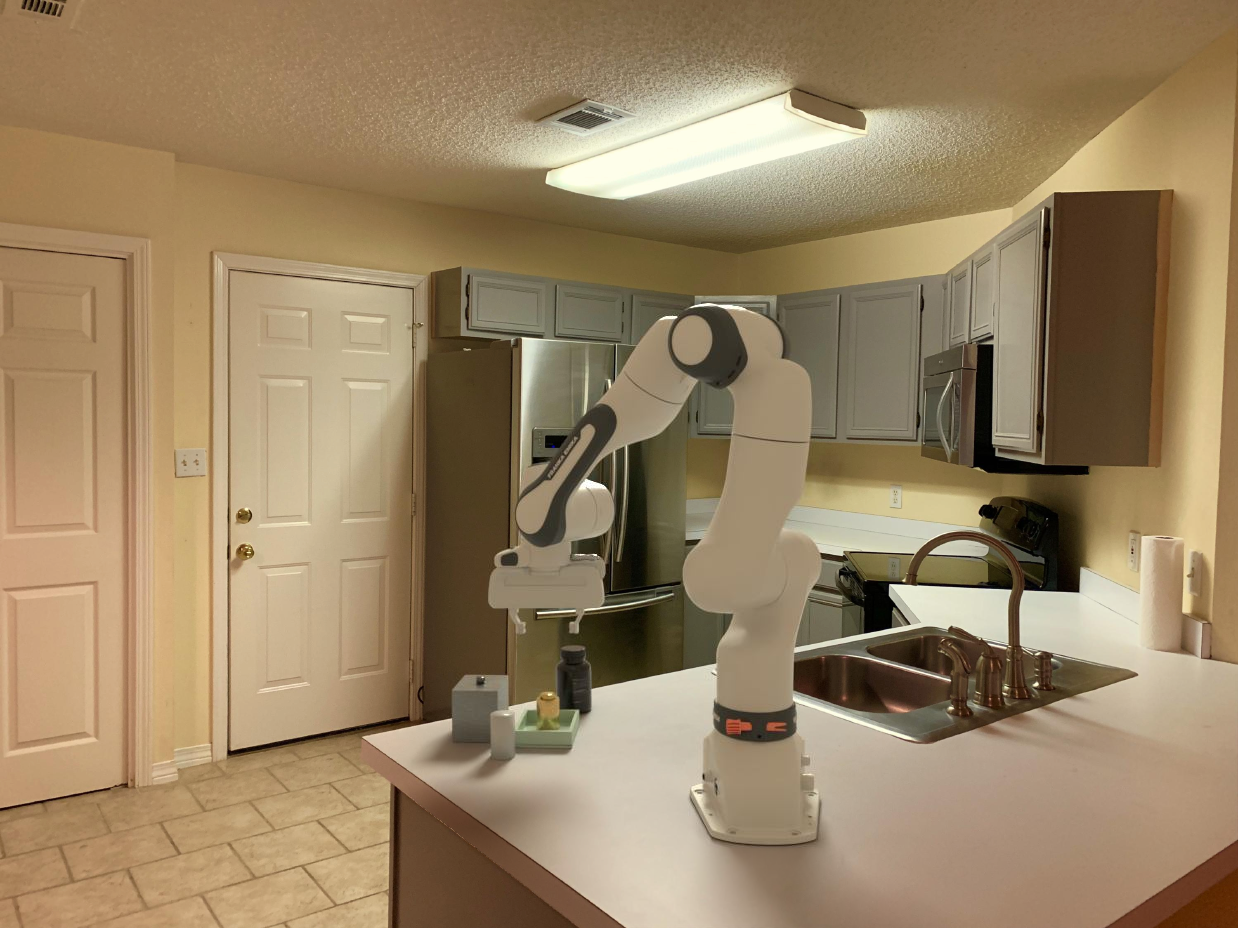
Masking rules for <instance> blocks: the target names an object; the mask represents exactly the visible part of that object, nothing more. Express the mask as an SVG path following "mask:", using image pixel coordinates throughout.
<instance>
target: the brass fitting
mask: <svg viewBox="0 0 1238 928" xmlns="http://www.w3.org/2000/svg"><path fill="white" fill-rule="evenodd" d="M536 709H537V718H536V730H559V697H557V696H556V692H553V691H543V692H540V694H539V696H537V697H536Z"/></svg>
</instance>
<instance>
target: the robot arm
mask: <svg viewBox="0 0 1238 928" xmlns="http://www.w3.org/2000/svg"><path fill="white" fill-rule="evenodd" d="M791 353H792V343H791V339H790V335H789V333H788V331H787V330H786V329H785V327H784V326H783V324H781V323H780V322H779V321H778V320H776V319H775V318H773V317H772V316H770V315H768V314H766V313H760V312H754V311H752V310H748V309H746V308H743V307H740V306H733V305H721V304H720V305H718V304H714V303H702V304H697V305H693V306H690V307H688V308H686V309H684V310H683V311H681V312H680V313H679V314H678V315H677V316H673V315H672V316H671V315H670V316H664V317H662V318H659V319H658V320H657V321H655V322H654V324H653V325H652V326H651V327H650V328H649V329H648V331H647V332H646V333H645V334H644V335H643V337H642V338H641V340H640V341H639V343H638V344H637V345H636V346H635V348H634V349H633V351H632V353H631V354H630V356H629V358H628V359H627V361H626V363H625V365H623V368H622V370H621V371H620V373H619V374H618V376H617V378H616V379H615V380H614V382H613V383H612V384H611V386H610V387H609V388H608V390H607V391H606V392H605V393H604V395H602V397H601V398H600V399H599V400H598V401H597V402H596V403H595V404H594V405H593V406H592V407H590V409H589V410H588V411H587V412H586V413H584V415H583V416H582V417H581V418H580V419H579V421H578V422H577V423H576V425H575V426H574V427H573V428H572V430H571V431H570V433H568V436H567V437H566V439H564V442H563V443H561V446H560V447H559V448H558V450H557V451H556V453H555V454H554V456H553V457H552V458H551V459H550V461H546V462H538V463H533V464H531V465H528V466H527V467H526V468H525V469H524V470H523V473H522V476H521V480H520V485H519V486H520V488H519V497H518V499H517V501H516V504H515V508H514V520H515V524H516V527H517V530H518V531H519V533H520V537H519V538H520V540H519V541H520V544H519V545H518V546H516V545H515V546H511V547H510V548H508V549H504V550H502V551H500V552H498V553H497V554H496V555H494V558H493V559H494V563H493V564H494V565H495V567H496V568H494V569H493V571H492V572H491V574H490V577H489V585H488V594H487V596H488V598H487V599H488V604H489V606H490V607H491V608H492V609H508V615H509V617H510V619H511V620H512V622H513V623H514V625H515V634H518V635H519V634H525V633H526V621H522V620H521V619H520V618H519V615H518V613H519V612H520V611H519V610H520V609H575V614H576V615H578V616H576V619H575V621H569V625H568V628H569V634H570V635H571V634H575V635H576V634H579V631H580V629H579V628H580V627H579V626H580V625H579V623H580V621H581V620H582V618H583V616H584V614H585V611H586V609H599V608H600V607H602V606H603V604H604V603H605V588H604V582H603V579H604V578H605V575H606V562H605V561H604V559H603V558H602V557H600V556H598V555H597V554H594V553H588V554H581V553H572V542H573V541H581V540H585V539H592V538H596V537H599V536H602V535H604V534H606V533H608V532H609V530H610V529H611V527H612V526H613V524H614V521H615V517H616V511H617V510H616V509H617V508H616V503H615V502H616V501H615V499H614V496H613V494H612V493H611V491H610V490H609V489H608V488H607V486H605V484H602V483H599V482H595V481H592V480H589V479H588V477H589V476H590V474H591V473H592V471H593V470H594V469H595V467H596V466H597V465H598V463H600V461H601V460H603V459H604V458H605V457H607V456H608V455H610V454H611V453H613V452H615V451H616V450H619V449H621V448H623V447H626V446H628V445H633V444H635V443H638V442H641V441H645V440H647V439H650V438H653V437H655V436H658V435H660V434H661V433H663V432H664V431H665V429H666V428H668V426H669V425H670V424H671V423H673V421H674V420H675V418H676V417H677V415H678V414H679V413H680V411H681V410H682V408H683V406H684V405H685V403H686V401H687V399H688V398H689V395H690V394H691V392H692V391H693V389H694V387H695V385H696V384H697V383H698V382H699V381H700V382H702V383H703V384H706V385H707V386H710V387H711V388H713V389H715V390H719V391H720V390H723V389H725V388H727V390H728V391H729V392H730V393H731V396H732V398H733V402H734V411H733V412H734V413H733V421H732V428H731V436H730V437H731V438H730V446H729V453H728V460H727V466H726V467H727V468H726V475H725V481H724V485H723V489H722V492H721V496H720V499H719V501H718V504H717V507H716V510H715V511H714V515H712V519H711V520H710V524H709V526H708V527H707V529H706V531H705V533H704V534H703V536H702V538H701V539H700V541H698V543H697V544H696V545H695V546H694V547H693V548H692V549H691V550H690V552H689V553H688V554H687V556H686V558H685V559H684V564H683V566H682V582H683V587H684V589H685V592H686V594H687V596H688V598H689V599H690V601H692V603H693V604H694V605H695V606H696V607H698V608H699V609H701V610H703V611H705V612H708V613H714V614H716V613H717V614H733V615H732V618H731V622H730V624H729V626H728V629H727V630H726V632H725V634H724V635H723V636H722V638H720V641H719V643H718V645H717V649H716V697H715V698H714V700H713V707H712V716H713V719H712V720H713V721H712V723H713V729H712V730H711V731H710V732H709V733H708V734H707V735H705V737H703V742H702V745H703V746H702V747H703V748H702V749H703V750H702V774H701V775H702V777H701V778H702V779H701V780H702V783H698V784H696V785H693V786H691V787H690V789H689V797H690V798H691V801H692V802H693V803H692V804H693V805H694V807H695V809H696V810H697V812H698V814H699V816H700V818H701V820H702V822H703V823H704V826H705V827H706V829H707V831H708V833H709V835H710V836H711V837H712V838H714V839H718V840H721V841H726V842H731V843H737V844H746V845H747V844H749V845H767V846H768V845H770V846H771V845H773V846H775V845H776V846H777V845H780V846H781V845H794V844H802V843H807V842H811V841H814V840H816V839H817V835H818V827H819V826H818V824H819V814H820V813H819V812H820V806H821V805H820V803H821V795H820V794H821V793H820V790H819V789H817V788H815V784H814V783H815V774H814V773H809V772H805V771H806V768H805V767H806V766H807V767H809V766H810V763H811V760H810V759H811V758H810V755H806V741H805V739H804V738H802V736H801V735H799V734H798V732H797V728H798V726H797V719H798V712H797V704H796V702H795V701H794V663H795V661H794V660H795V649H796V642H797V637H798V632H799V628H800V624H801V620H802V617H803V613H804V610H805V607H806V603H807V600H808V597H809V595H810V593H811V590H812V589H813V587H814V586H815V585H816V584H817V583H818V580H819V578H820V576H821V572H822V568H823V566H822V564H823V560H822V555H821V552H820V550H819V547H818V545H816V544H817V543H815V541H813V539H812V538H810V536H809V535H807V534H805V533H803V532H801V531H798V530H793V529H788V528H784V527H785V524H786V522H787V519H788V517H789V516H790V514H791V512H792V511H793V509H794V508H795V507H796V506H797V504H799V502H800V500H801V499H802V497H803V494H804V489H805V482H806V474H807V467H808V466H807V465H808V460H809V459H808V458H809V453H810V452H809V450H810V443H811V442H810V441H811V433H812V420H813V419H812V416H813V403H812V402H813V401H812V396H813V395H812V384H811V378H810V375H809V373H808V372H807V370H806V369H805V368H804V367H803V366H802V365H801V364H799V363H796V362H794V361H792V360H790V358H791Z"/></svg>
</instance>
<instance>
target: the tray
mask: <svg viewBox="0 0 1238 928" xmlns="http://www.w3.org/2000/svg"><path fill="white" fill-rule="evenodd" d="M536 718H537V708H535V709H534V708H524V709H523V712H522V713H521V715H520V717H519V719H518V721H517V723H516V724H515V748H534V749H536V748H537V749H542V748H543V749H545V748H546V749H573V746H574V744H575V743H574V742H575V739H576V736H577V733H578V731H579V727H580V714H579V710H559V730H536Z"/></svg>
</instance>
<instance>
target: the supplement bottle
mask: <svg viewBox="0 0 1238 928" xmlns="http://www.w3.org/2000/svg"><path fill="white" fill-rule="evenodd" d="M559 655H560V658H559V659H561V660H560V661H558V663H556V666H555V691H556V692H555V693H556V696H557V697H559V710H579V715H580V714H585V713H587V712H589V711H591V709H592V705H593V701H592V700H593V697H592V696H593V695H592V692H593V691H592V667H591V663H590V662H589V661H587V660H586V657H587V656H586V647H585V646H583V645H573V644H572V645H566V646H562V647H561V648H560V654H559Z"/></svg>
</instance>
